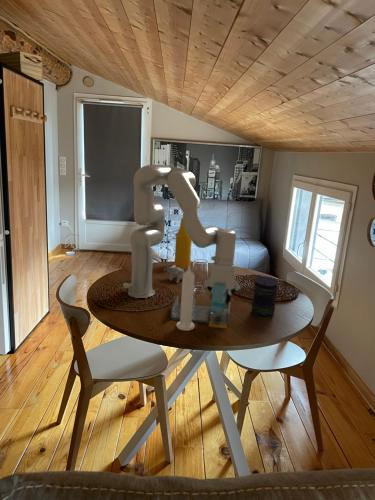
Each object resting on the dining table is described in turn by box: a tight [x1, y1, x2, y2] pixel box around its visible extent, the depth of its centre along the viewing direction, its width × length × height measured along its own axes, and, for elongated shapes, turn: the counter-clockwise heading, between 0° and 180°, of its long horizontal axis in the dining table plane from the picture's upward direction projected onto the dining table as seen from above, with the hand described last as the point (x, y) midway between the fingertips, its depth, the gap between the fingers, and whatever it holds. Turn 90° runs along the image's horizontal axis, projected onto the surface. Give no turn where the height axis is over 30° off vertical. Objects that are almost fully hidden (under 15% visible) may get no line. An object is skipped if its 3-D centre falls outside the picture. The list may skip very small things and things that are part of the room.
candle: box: [176, 265, 196, 332], centre depth 137 cm, size 7×7×25 cm
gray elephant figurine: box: [163, 264, 185, 284], centre depth 189 cm, size 9×12×8 cm
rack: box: [170, 294, 231, 329], centre depth 150 cm, size 23×16×5 cm
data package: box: [210, 283, 229, 314], centre depth 148 cm, size 12×4×12 cm, turn 159°
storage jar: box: [250, 276, 279, 319], centre depth 155 cm, size 10×10×15 cm
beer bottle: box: [173, 217, 193, 270], centre depth 208 cm, size 9×9×29 cm
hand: (220, 301), depth 149 cm, fingers closed on data package, 5 cm apart
